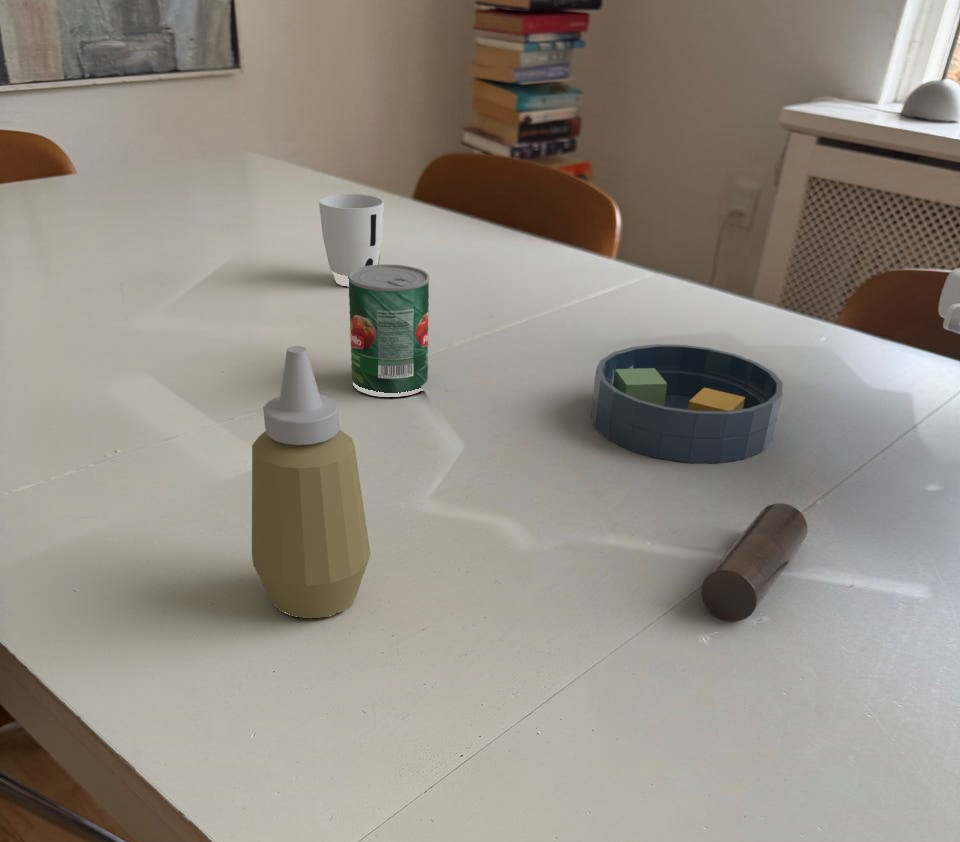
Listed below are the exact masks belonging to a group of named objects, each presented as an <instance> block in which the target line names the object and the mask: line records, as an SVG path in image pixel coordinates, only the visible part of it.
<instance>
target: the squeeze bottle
mask: <svg viewBox="0 0 960 842" xmlns="http://www.w3.org/2000/svg"><path fill="white" fill-rule="evenodd" d="M314 374H315V373H314V370H313V368H312V364H311V360H310V357H309V354H308V349H307V347H306V346H304V345H303V346H302V345H291V346H287V348H286V351H285V359H284V367H283V374H282V380H281V386H280V387H281V388H280V394H279V395H278V396H275V397H273V398H271V399H269V400H267V402H266V403H265V404H264V406H263V407H262V409H263V411H262V412H263V420H264V429H265V431H263V433H261V434H260V435H258V436H257V438H256V439H255V441H254V442H253V443H252V444H251V558H252V565H253V568H254V570H255V572H256V573H257V576H258V577H259V579H260V581H261V583H262V586H263V587H264V589H265V591H266V593H267V595H268V597H269V598H270V600H271V603H272V604H273V605H274V604H275V605H276V606H277V607H278V608H279V609H280V610H281V611H283V612H286V613H288V614H290V615H293V616H297V617H304V618H310V619H309V620H312V619H311V618H319V617H328V618H330V617H333V616H335V614H336V613H339V614H341V613H340V612H342V611H343V612H344V610H345V611H346V610H347V609H349V608H350V607H351V606H352V605H353V604H354V602H355V599H356V597H357V594H358V592H359V588H360V585H361V583H362V580H363V577H364V575H365V571H366V568H367V565H368V562H369V560H370V556H371V549H370V541H369V534H368V528H367V521H366V515H365V514H366V513H365V506H364V501H363V493H362V487H361V479H360V473H359V467H358V461H357V460H358V459H357V453H356V447H355V443H354V440H353V438H352V437H351V436H350V435H348V434H347V433H346V432H344V431H343V430H341V429H340V415H339V414H340V413H339V411H340V409H339V405H338V403H337V401H335V399H332V398H331V397H329V396H326V395H323V394H320V392H319V389H318V388H319V387H318V385H317V382H316V378H315V375H314ZM275 605H274V606H275ZM276 606H275V607H276ZM349 606H350V607H349ZM277 607H276V608H277ZM278 608H277V609H278ZM346 608H347V609H346ZM279 609H278V610H279ZM280 610H279V611H280ZM281 611H280V612H281ZM343 612H342V613H343ZM290 615H289V616H290ZM330 615H331V616H330ZM332 615H333V616H332ZM336 615H337V614H336ZM329 616H330V617H329ZM319 619H320V618H319Z"/></svg>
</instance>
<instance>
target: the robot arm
mask: <svg viewBox="0 0 960 842" xmlns="http://www.w3.org/2000/svg"><path fill="white" fill-rule="evenodd" d="M937 309H938V315H939V316H940V317H941V318H943V322H942V328H943V329H944V330H947V331H950V332H953V333H956V334H958V335H960V267H958V268H955V269H954V268H953V270H951V271H950V272H949V273H948V274H947V277H946V279H945V281H944V284H943V287H942V289H941V293H940V297H939V301H938V308H937Z"/></svg>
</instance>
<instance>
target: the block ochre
mask: <svg viewBox="0 0 960 842" xmlns="http://www.w3.org/2000/svg"><path fill="white" fill-rule="evenodd" d="M744 401H745V397H742V396H738V395H734V394H729V393H725V392H721V391H717V390H713V389H708V388H703V389H702V390H701V391H700V392H699V393H697V394H696V395H695V396H694V397H693V398H692V399H691V400H690V401H689V404H688V410H692V411H731V410H739V409H743V406H744Z"/></svg>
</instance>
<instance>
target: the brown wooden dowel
mask: <svg viewBox="0 0 960 842" xmlns="http://www.w3.org/2000/svg"><path fill="white" fill-rule="evenodd" d="M807 535H808V523H807V520H806V518H805V516H804V515H803V513H802V512H801V511H800V510H799V509H798V508H797V507H795V506H794V505H791V504H787V503H781V502H777V503H772V504H769V505H767V506H765V507H764V508H763V509H762V510H761V511H760V512H759V513H758V515H756V517H755V518H754V519H753V520H752V521H751V522H750V524H749V525H748V527H746V529H745V530H744V531H743V533H742V534H740V536H739V537H738V539H736V541H735V542H734V543H733V545H731V547H730V548H729V549H728V551H727V552H726V553H725V554H724V555H723V557H722V558H721V559H720V560H719V561H718V563H717V564H716V565H715V566H714V568H713V569H712V570H710V572H709V573H708V575H706V577H705V578H704V580H703V581H702V584H701V588H700V594H701V599H702V602H703V604H704V605H705V607H706V608H707V610H708V611H709V612H710V613H711V614H712V615H713V616H715V617H717V618H718V619H720V620H723V621H726V622H740V621H743V620H746V619H747V618H750V616H751V615H752V614H753V613H754V612H755V611H756V609H757V608H758V606H759V605H760V603H761V602H762V601H763V599H765V597H766V595H767V593H768V592H769V591H770V589H771V588H772V587H773V585H774V584H775V582H777V580H778V578H779V577H780V575H781V574H782V573H783V572H784V570H785V569H786V567H787V565H788V564H789V563H790V561H792V559H793V557H794V556H795V554H796V553H797V552H798V550H799V549H800V547H801V546H802V544H803V543H804V542H805V540H806V538H807Z"/></svg>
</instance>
